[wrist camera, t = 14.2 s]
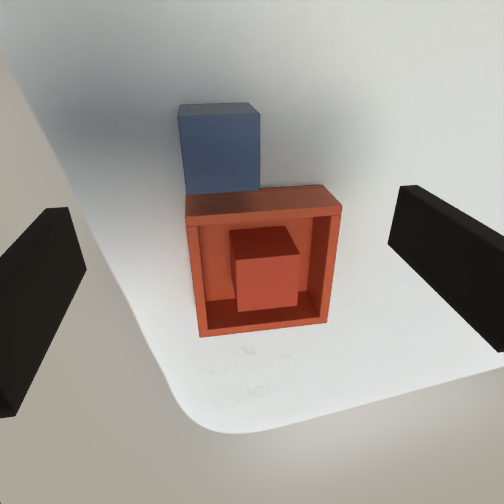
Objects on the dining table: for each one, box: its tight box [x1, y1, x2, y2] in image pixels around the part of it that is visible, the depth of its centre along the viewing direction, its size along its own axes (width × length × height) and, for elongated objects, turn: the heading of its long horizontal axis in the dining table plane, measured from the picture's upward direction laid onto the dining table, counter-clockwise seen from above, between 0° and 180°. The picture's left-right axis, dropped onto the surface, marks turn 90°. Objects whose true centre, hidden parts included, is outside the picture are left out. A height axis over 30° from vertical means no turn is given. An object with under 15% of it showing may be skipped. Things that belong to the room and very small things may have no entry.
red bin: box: [185, 185, 342, 338], centre depth 30 cm, size 12×12×5 cm
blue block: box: [178, 103, 260, 195], centre depth 24 cm, size 5×5×5 cm
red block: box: [229, 226, 301, 312], centre depth 29 cm, size 5×5×5 cm
